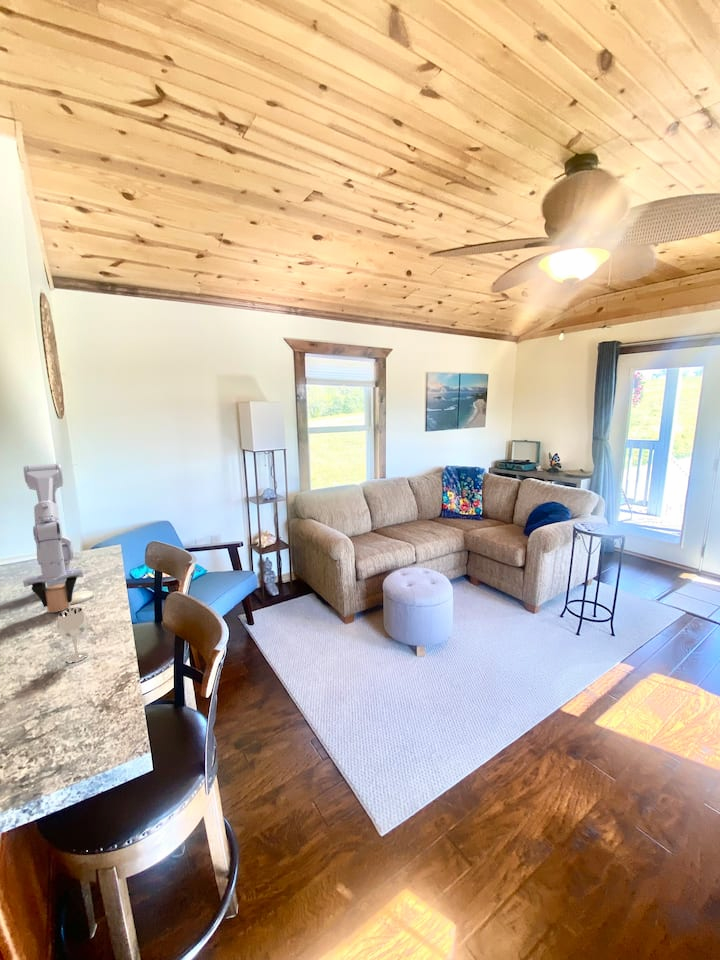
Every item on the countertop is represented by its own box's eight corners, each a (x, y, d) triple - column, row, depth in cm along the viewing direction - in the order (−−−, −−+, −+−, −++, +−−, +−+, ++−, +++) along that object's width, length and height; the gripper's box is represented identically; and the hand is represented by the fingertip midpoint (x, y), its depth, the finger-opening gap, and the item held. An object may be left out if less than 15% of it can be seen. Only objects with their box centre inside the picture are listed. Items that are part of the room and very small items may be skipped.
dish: (62, 596, 133) (62, 594, 133) (94, 590, 137) (94, 588, 137) (57, 607, 125) (56, 604, 125) (91, 600, 129) (91, 598, 129)
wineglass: (76, 666, 94) (69, 618, 92) (56, 663, 95) (49, 616, 93) (96, 652, 99) (90, 607, 98) (77, 650, 101) (71, 605, 99)
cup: (49, 606, 124) (46, 586, 123) (71, 602, 126) (68, 582, 125) (45, 613, 119) (42, 593, 118) (68, 609, 122) (65, 589, 121)
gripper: (17, 569, 114) (24, 614, 116) (78, 560, 120) (84, 602, 122) (24, 562, 120) (31, 604, 122) (82, 553, 127) (87, 594, 129)
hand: (58, 603), depth 123 cm, fingers closed on cup, 5 cm apart
